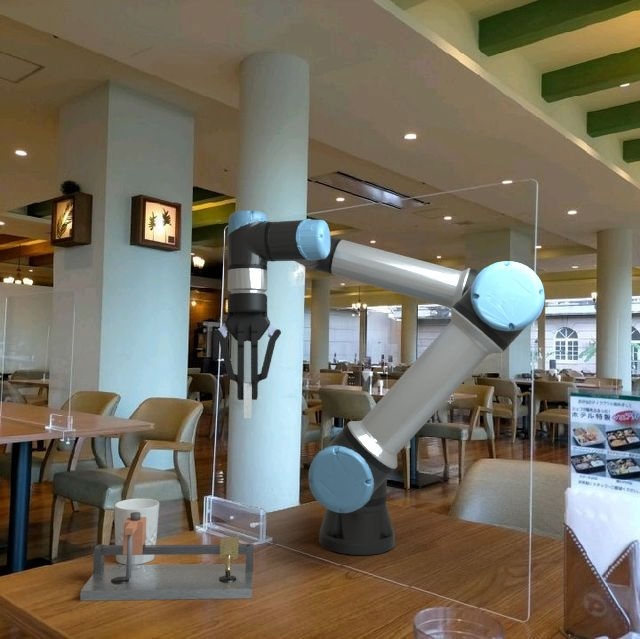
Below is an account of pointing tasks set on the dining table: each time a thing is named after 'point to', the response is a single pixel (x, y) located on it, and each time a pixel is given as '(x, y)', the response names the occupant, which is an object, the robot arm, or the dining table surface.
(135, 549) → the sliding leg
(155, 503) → the white cup
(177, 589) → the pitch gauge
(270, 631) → the dining table surface
